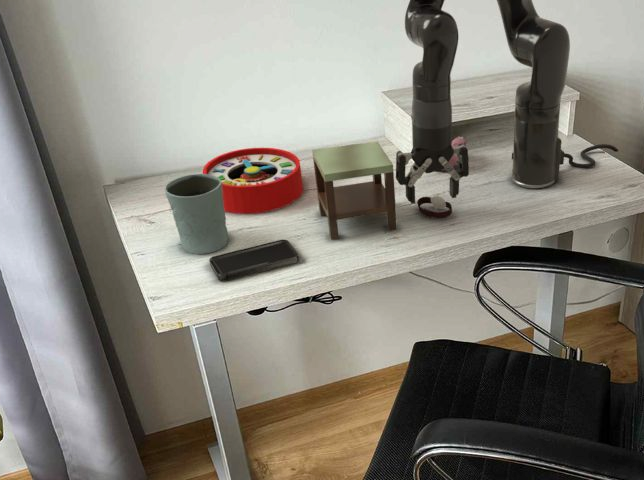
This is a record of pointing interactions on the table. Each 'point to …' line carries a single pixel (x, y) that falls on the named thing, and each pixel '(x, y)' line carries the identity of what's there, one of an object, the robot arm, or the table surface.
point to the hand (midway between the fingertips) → (432, 199)
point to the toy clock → (257, 179)
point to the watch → (438, 203)
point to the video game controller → (455, 144)
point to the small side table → (355, 196)
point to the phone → (253, 260)
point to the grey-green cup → (198, 212)
